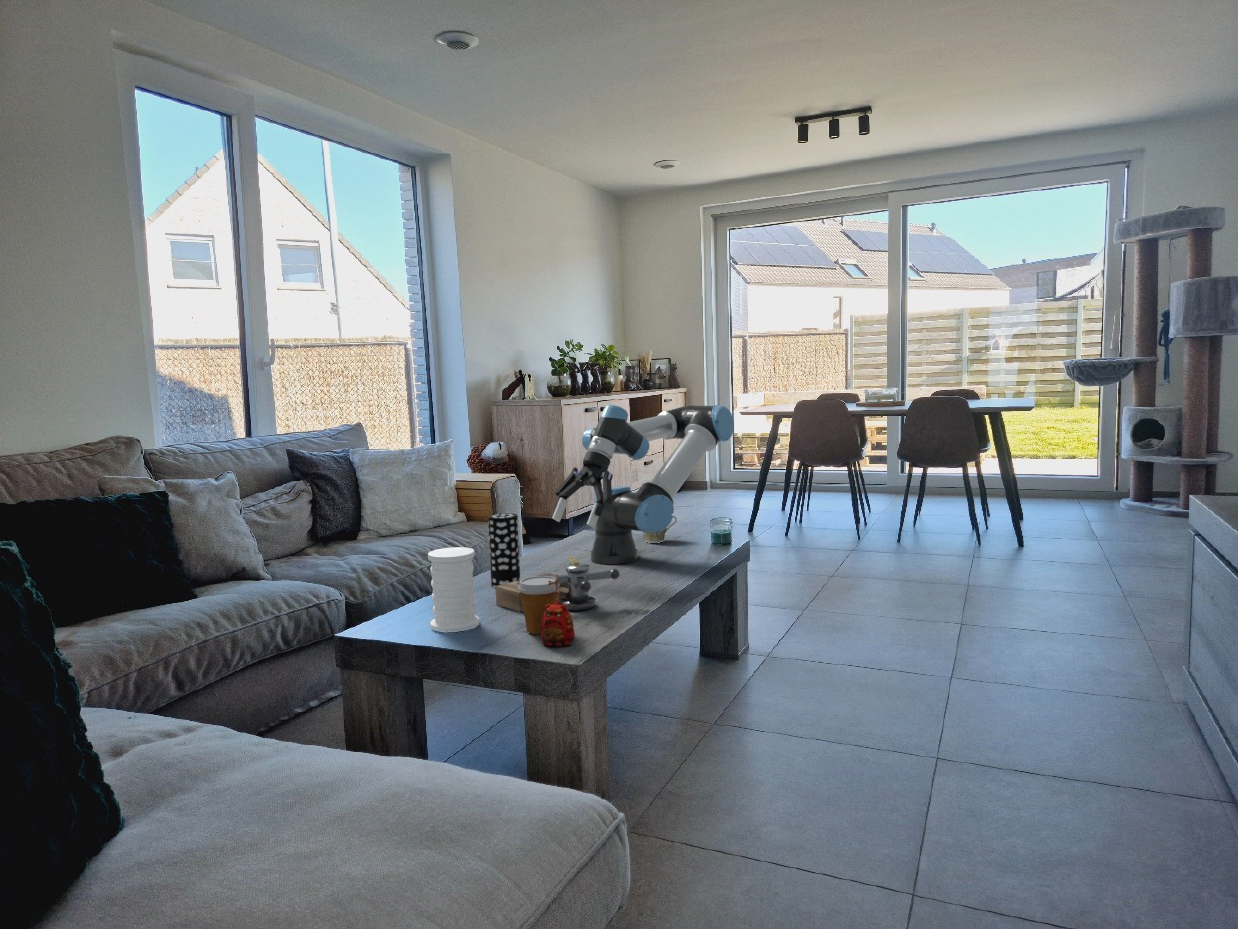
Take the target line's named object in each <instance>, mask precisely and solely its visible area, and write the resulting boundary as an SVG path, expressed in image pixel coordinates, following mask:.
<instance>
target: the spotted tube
mask: <svg viewBox="0 0 1238 929" xmlns="http://www.w3.org/2000/svg"><path fill="white" fill-rule="evenodd" d="M518 521H519V520H518V514H516V513H507V512H505V513H504V512H503V513H494V514H489V515H488V516H487V525H488V526H487V527H488V544H489V546H488V547H489V564H490V565H489V566H490V567H489V568H490V585H491V586H490V587H492V588H494V589H496V586H498V585H502V584H506V583H511V582H515V581H519V580H521V568H520V567H521V566H520V564H521V563H520V544H519V539H520V538H519V522H518Z"/></svg>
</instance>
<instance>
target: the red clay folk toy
mask: <svg viewBox="0 0 1238 929" xmlns="http://www.w3.org/2000/svg"><path fill="white" fill-rule="evenodd" d="M556 575H557V578H556V579H555V582H551V581H548V582H549V585H551V584H556V590H557V591H556V594H557V597H556V603H555V604H553V605H550V604H547V605H546V606H545V611H544V613H543V616H542V619H541V625H540V629H541V635H540V639H541V642H542V645H543V644H544V645H543V646H547V647H557V648H563V647H562V646H566V647H570V646H571V643H573V642H574V639H575V629H574V627H575V626H574V625H575V624H574V620H573V617H572V615H571V613H570V610H568V609H567V606H566V605H561V604H560V601H559V597H558V595H559V591H558V580H559V579H558V575H559V574H557V573H556ZM557 579H558V580H557Z"/></svg>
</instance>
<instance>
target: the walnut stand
mask: <svg viewBox="0 0 1238 929" xmlns="http://www.w3.org/2000/svg"><path fill="white" fill-rule="evenodd" d="M556 575H557V574H555V573H550V572H549V573H548V572H547V573H544V574H540V575H539V574H538V576H556ZM520 580H521V579H520ZM520 580H519V581H515V582H511V583H506V584H502V585H498V586H496V588H495V603H496V606H498V605H499V607H502V608H505V607H507V608H506V609H508V608H510V609H509V610H511V609H514V610H516V611H515V612H518V611H519V613H521V612H520V611H522V612H524V611H523V605H522V598H521V593H520V591H519V589H518V586H519V584H520ZM558 591H559V595H558V597H559V602H560V600H561V599H563V598H565V599H568V598H569V589H568V582H566V583H559V587H558ZM514 610H513V611H514Z"/></svg>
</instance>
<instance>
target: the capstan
mask: <svg viewBox="0 0 1238 929" xmlns="http://www.w3.org/2000/svg"><path fill="white" fill-rule="evenodd" d="M568 561H570V562H571V564H567V565H565V571H566V573H567V574H560V575H559V574H558V579H559V580H558V579H557V580H558V583H566V582H568V589H569V598H568V599H565V598H563V599H561V600H560V601H559V602H560V604H561V605H566V606H567V609H568V611H577V612H578V611H579V612H580V611H586V610H589V609H593V608H594V607H596V598H595V597H593V596H592V595H591V596H590V595H589V592H590V590H591V588H592V585H591V583H590V582H589V581H599V580H608V579H612V580H617V579H618V578H619V577H620V571H619V570H618V569H616V568H613V569H611V570H604V571H603V570H602V571H601V570H600V571H592V572H588V570H590V564H588V563H581V562H579V561H578V560H577V559H576V557H574V555H573V556H572V555H571V556H569V557H568ZM555 575H556V576H551V577H555V578H557V574H555Z"/></svg>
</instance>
